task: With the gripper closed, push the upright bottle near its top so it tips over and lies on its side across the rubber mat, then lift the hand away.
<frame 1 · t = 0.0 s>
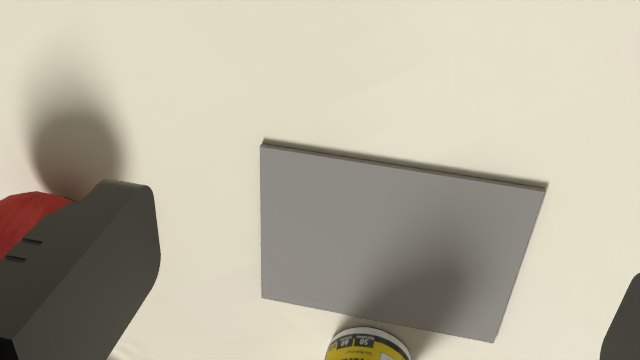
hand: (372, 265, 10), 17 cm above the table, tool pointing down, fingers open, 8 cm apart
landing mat: (385, 248, 32), on the table
supplement bottle: (369, 350, 38), on the table
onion: (72, 202, 36), on the table
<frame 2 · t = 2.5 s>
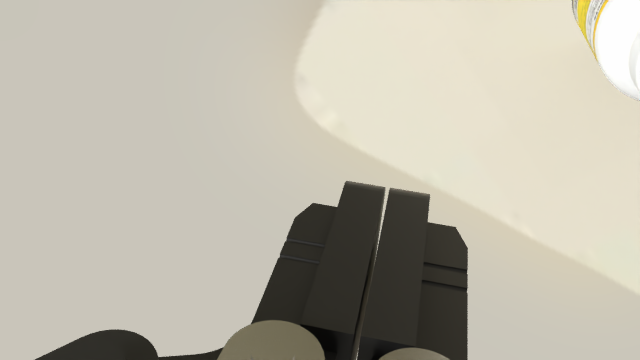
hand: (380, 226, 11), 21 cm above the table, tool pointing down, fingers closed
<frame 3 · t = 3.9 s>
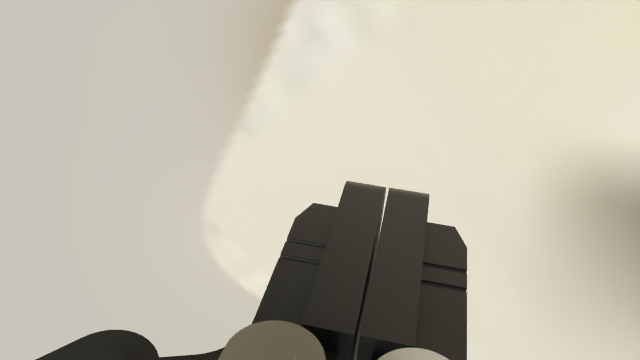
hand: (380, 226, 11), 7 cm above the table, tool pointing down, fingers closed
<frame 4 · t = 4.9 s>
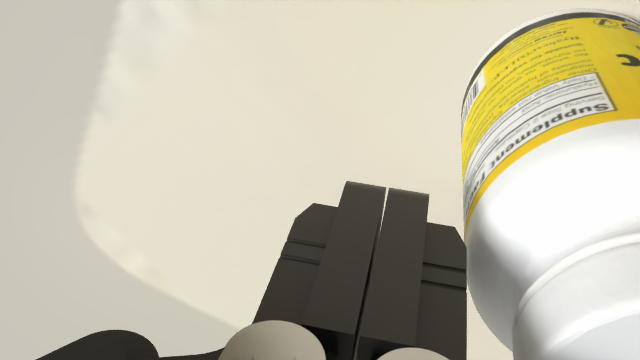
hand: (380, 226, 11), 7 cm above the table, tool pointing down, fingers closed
supplement bottle: (562, 98, 16), on the table, touching gripper
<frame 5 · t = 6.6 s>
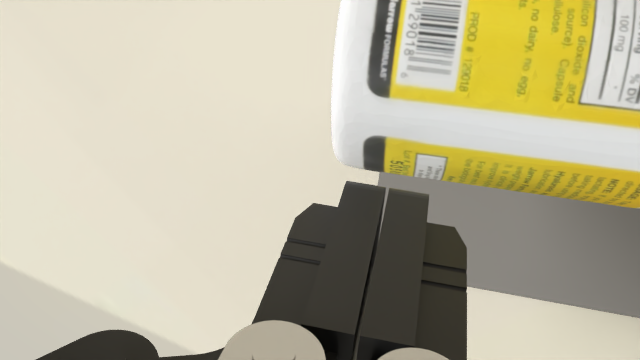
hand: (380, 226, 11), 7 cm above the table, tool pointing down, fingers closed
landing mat: (595, 103, 16), on the table
supplement bottle: (340, 44, 13), point 3 cm above the table, touching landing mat
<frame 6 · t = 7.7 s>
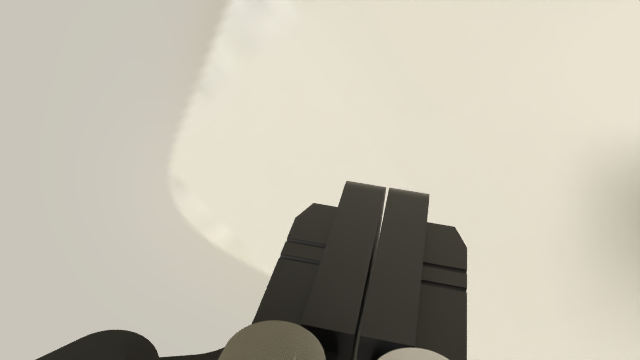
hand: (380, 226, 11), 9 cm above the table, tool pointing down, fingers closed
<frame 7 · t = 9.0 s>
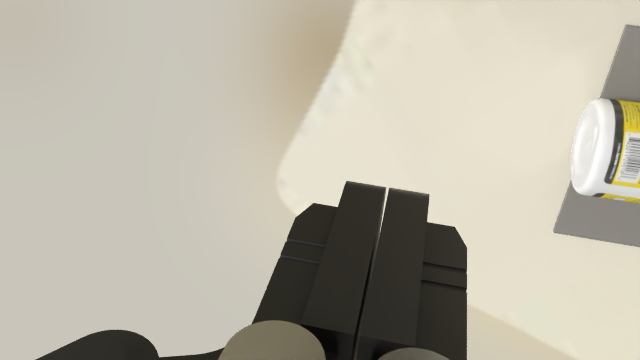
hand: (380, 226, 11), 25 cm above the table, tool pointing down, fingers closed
supplement bottle: (579, 144, 33), point 3 cm above the table, touching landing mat
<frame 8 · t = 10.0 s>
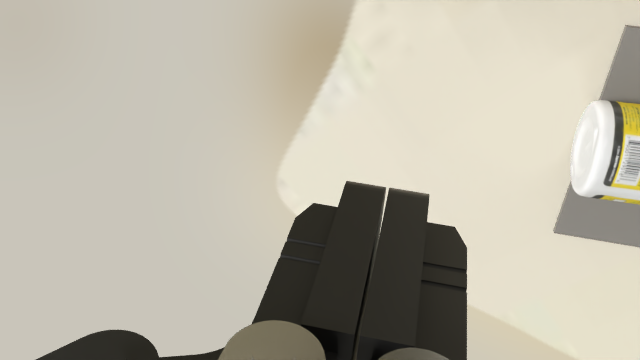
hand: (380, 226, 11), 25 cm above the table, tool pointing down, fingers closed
supplement bottle: (578, 145, 33), point 3 cm above the table, touching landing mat
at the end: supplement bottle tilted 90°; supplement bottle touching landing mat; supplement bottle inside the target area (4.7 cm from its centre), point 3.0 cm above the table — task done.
